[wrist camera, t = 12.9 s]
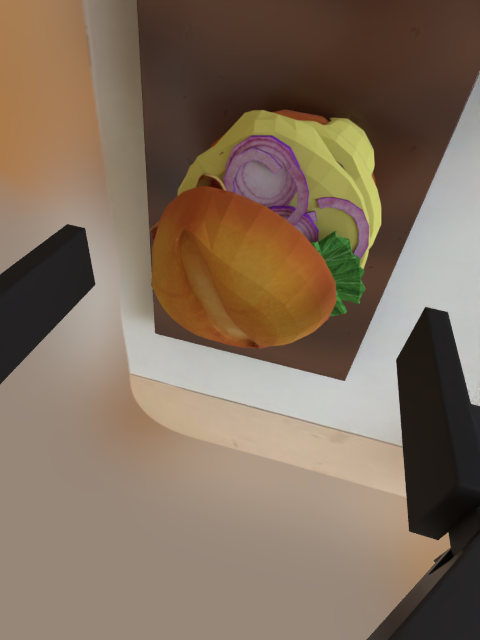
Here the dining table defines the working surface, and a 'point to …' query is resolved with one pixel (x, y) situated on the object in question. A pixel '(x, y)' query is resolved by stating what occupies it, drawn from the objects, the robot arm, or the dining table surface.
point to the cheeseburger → (269, 230)
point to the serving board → (312, 98)
